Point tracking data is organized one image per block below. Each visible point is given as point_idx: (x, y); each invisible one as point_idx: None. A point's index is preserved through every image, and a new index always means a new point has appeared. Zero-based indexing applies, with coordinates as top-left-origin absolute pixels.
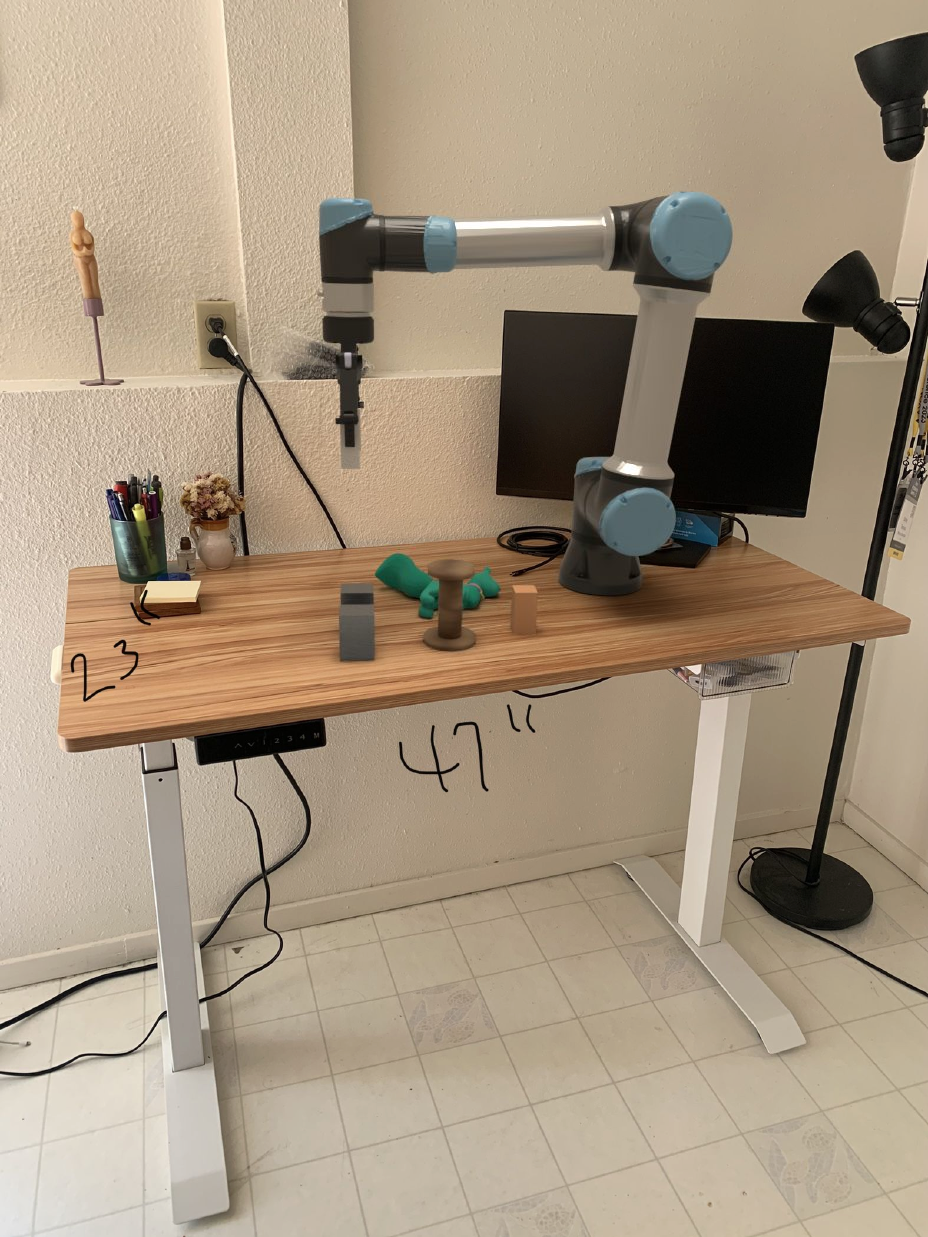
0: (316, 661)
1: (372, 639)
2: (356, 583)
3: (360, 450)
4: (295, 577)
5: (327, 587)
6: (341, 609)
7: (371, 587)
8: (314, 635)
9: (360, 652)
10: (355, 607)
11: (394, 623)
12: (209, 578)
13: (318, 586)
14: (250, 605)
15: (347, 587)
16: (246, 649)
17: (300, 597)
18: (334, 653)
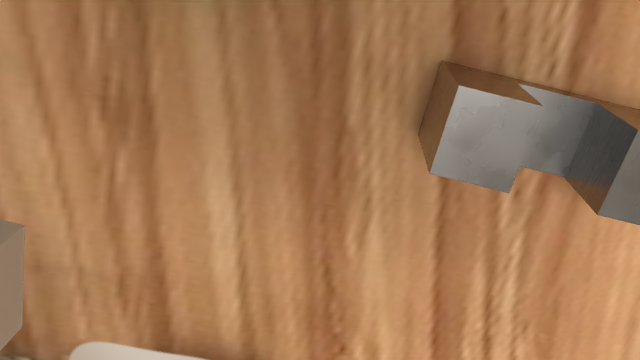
0: (599, 227)
1: None
2: (443, 133)
3: (21, 229)
4: (58, 170)
5: (143, 110)
6: (634, 218)
7: (494, 100)
8: (456, 203)
9: None
10: (637, 182)
11: (447, 4)
12: (54, 337)
13: (132, 130)
14: (239, 290)
15: (469, 165)
16: (481, 331)
17: (206, 185)
18: None
